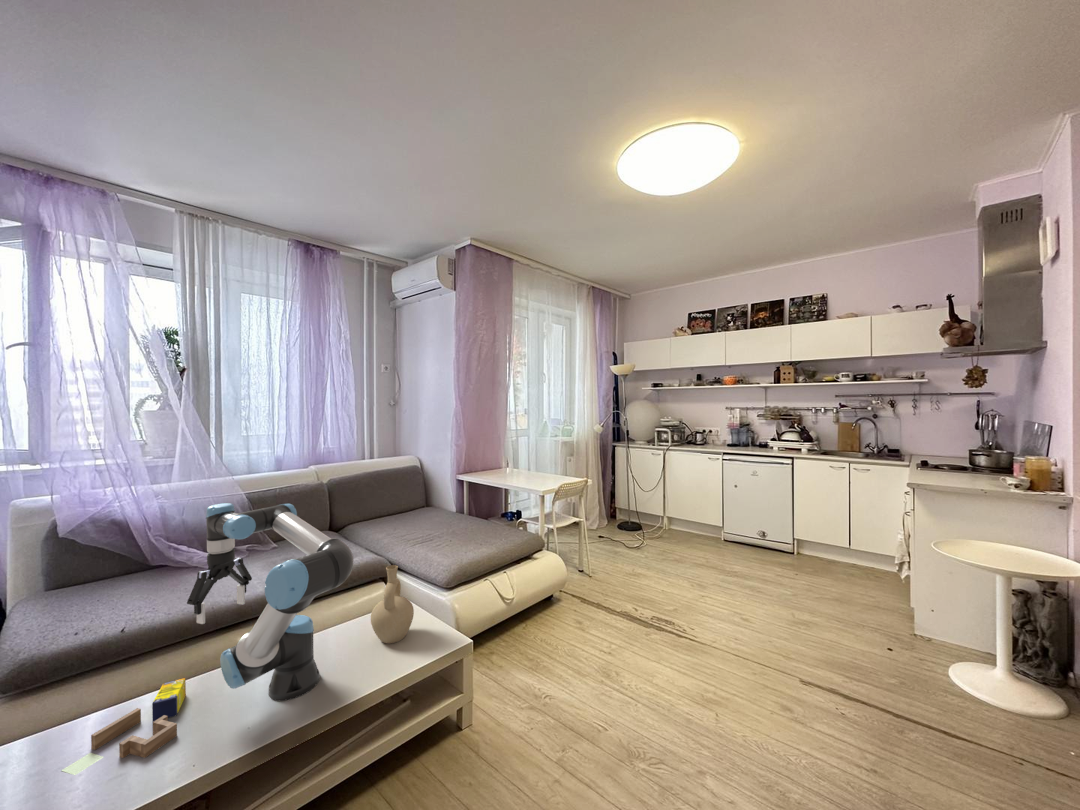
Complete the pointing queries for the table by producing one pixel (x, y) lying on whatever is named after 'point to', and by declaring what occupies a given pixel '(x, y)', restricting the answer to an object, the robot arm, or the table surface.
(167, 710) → the supplement box
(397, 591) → the vase
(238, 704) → the table surface
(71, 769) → the pad
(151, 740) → the tunnel rails
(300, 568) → the robot arm
